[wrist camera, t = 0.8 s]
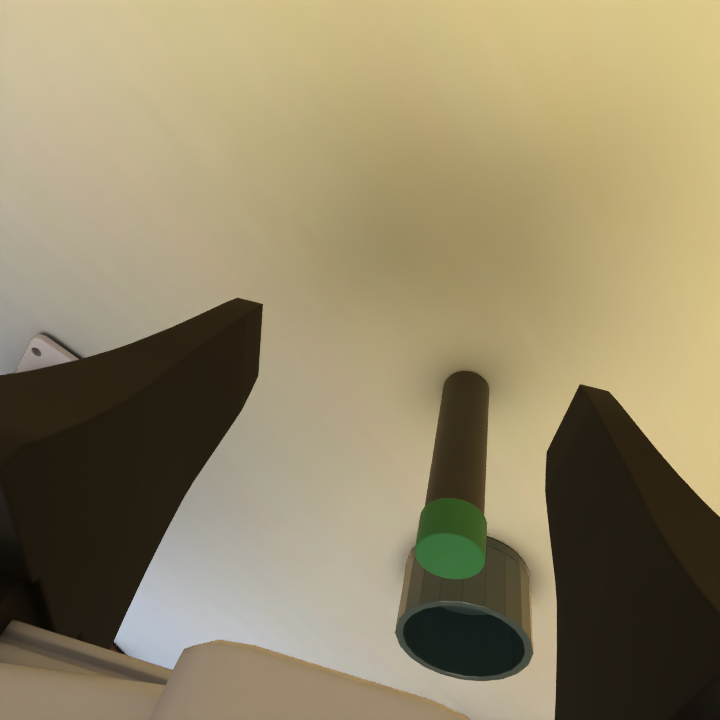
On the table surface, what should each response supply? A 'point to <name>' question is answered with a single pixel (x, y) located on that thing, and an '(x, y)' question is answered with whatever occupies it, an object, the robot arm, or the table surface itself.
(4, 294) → the table surface
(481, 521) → the marker
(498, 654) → the tumbler
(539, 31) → the table surface
